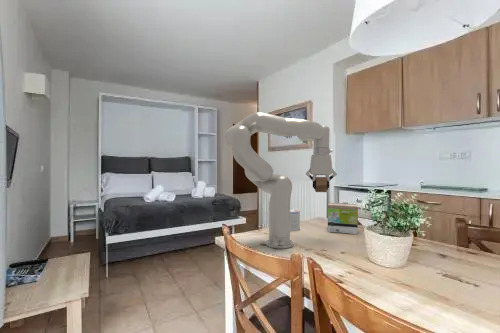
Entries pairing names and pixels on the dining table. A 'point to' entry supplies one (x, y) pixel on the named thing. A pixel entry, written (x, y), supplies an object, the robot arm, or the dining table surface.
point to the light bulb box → (294, 219)
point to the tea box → (343, 218)
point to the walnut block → (321, 184)
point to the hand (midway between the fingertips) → (320, 188)
